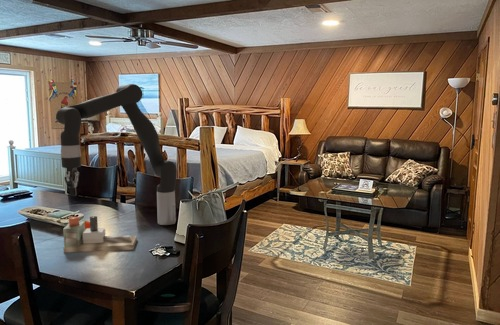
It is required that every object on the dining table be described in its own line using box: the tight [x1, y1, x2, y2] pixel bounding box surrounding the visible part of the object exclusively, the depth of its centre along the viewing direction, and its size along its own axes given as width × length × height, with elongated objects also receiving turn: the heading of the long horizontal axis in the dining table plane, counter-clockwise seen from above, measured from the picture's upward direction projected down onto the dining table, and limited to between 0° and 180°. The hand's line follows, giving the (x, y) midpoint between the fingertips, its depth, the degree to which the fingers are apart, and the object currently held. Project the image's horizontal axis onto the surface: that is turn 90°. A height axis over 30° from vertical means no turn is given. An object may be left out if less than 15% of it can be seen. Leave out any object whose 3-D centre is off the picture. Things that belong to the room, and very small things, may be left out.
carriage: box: [83, 215, 106, 244], centre depth 166 cm, size 8×6×11 cm
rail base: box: [62, 220, 138, 253], centre depth 167 cm, size 28×12×10 cm, turn 99°
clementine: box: [84, 220, 90, 229], centre depth 181 cm, size 8×7×7 cm
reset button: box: [68, 216, 80, 226], centre depth 164 cm, size 4×4×3 cm
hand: (73, 195), depth 163 cm, fingers closed
